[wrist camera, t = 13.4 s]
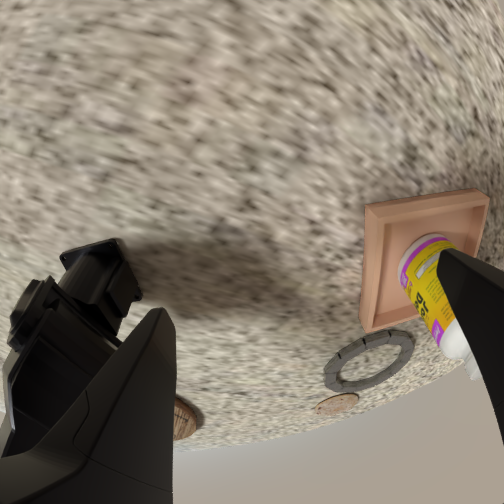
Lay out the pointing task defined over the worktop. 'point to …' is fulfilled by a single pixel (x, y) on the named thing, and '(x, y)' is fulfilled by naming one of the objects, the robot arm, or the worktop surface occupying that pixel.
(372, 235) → the tray
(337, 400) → the flatbread
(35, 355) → the robot arm
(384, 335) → the seat ring
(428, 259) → the supplement bottle
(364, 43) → the worktop surface
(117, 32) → the worktop surface
